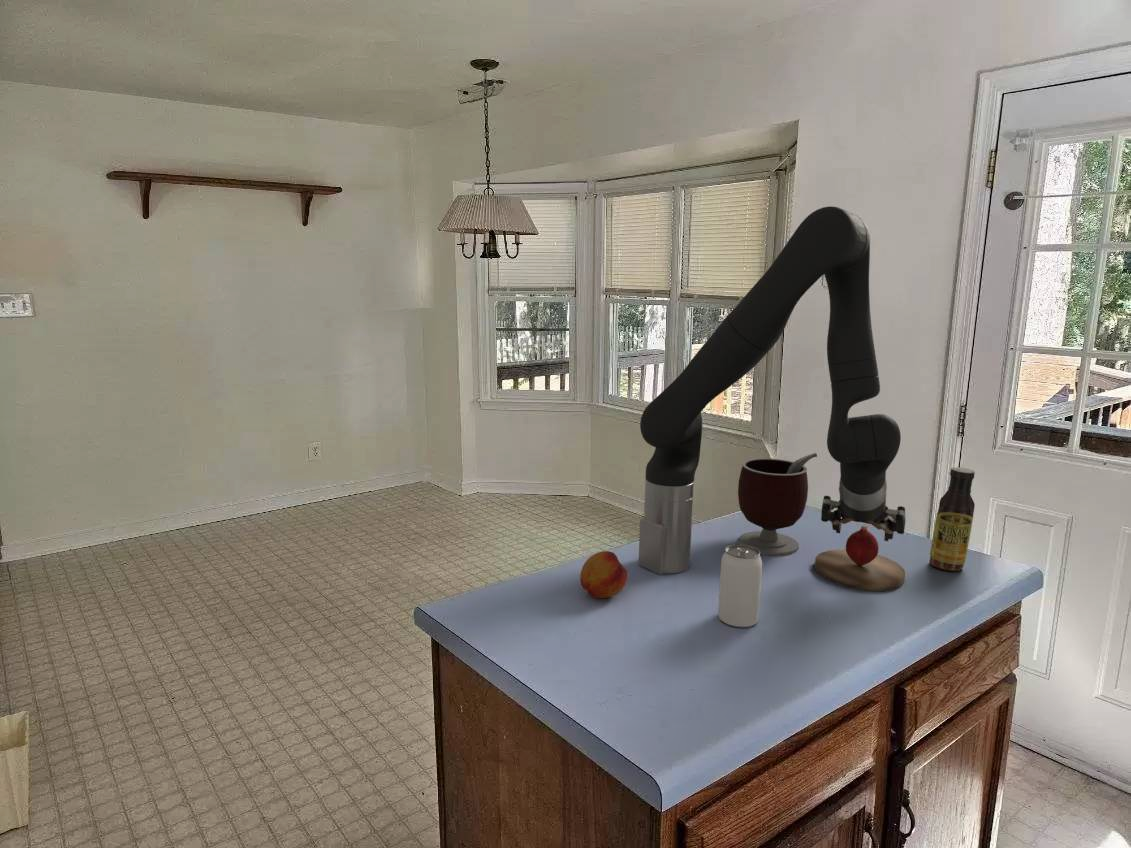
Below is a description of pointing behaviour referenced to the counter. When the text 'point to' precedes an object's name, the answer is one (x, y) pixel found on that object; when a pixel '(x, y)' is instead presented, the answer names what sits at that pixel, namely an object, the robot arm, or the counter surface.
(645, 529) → the robot arm
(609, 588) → the fruit
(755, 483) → the mate gourd
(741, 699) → the counter surface
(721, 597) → the can
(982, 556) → the counter surface
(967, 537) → the sauce bottle
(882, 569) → the walnut board
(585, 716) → the counter surface
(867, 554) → the onion
